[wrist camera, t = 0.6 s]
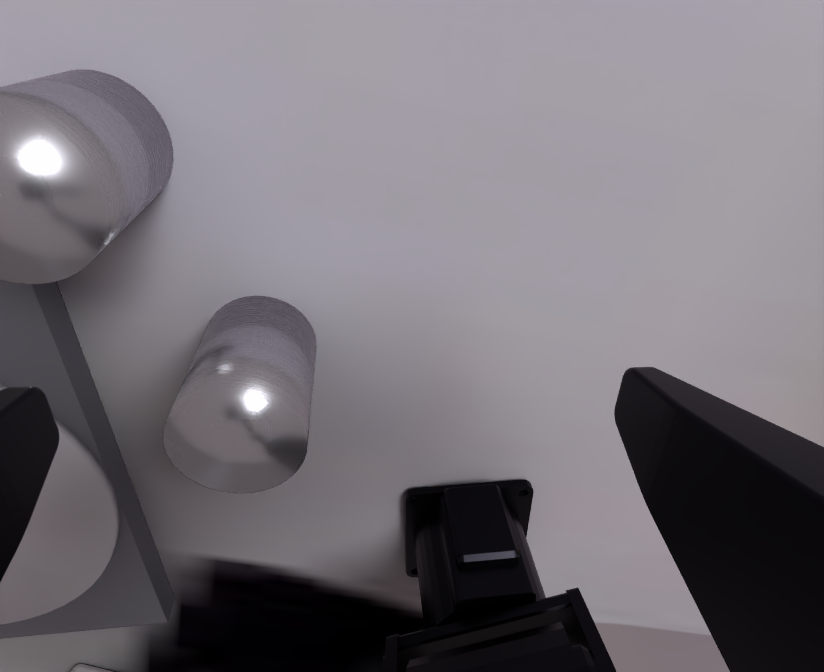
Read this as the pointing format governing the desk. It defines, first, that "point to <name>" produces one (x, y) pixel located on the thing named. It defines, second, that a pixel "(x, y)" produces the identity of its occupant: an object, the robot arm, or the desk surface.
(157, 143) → the cylinder
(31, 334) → the scale
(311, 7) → the desk surface
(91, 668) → the medicine bottle
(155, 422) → the desk surface
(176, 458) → the cylinder
